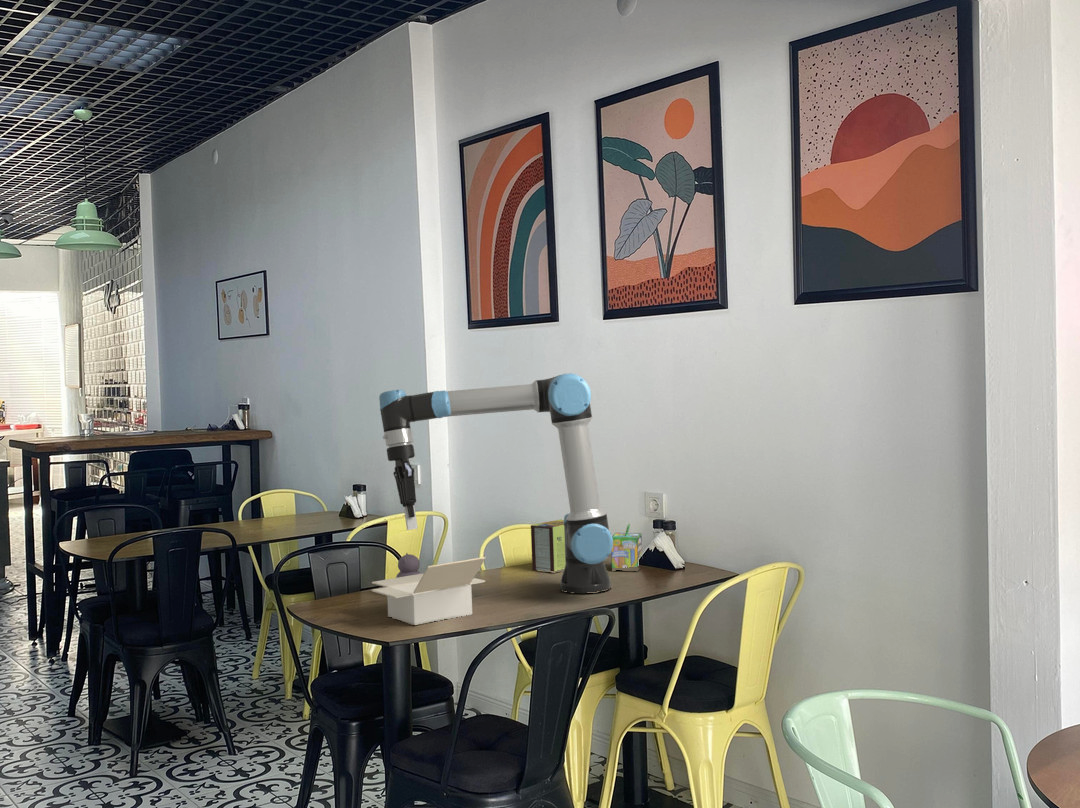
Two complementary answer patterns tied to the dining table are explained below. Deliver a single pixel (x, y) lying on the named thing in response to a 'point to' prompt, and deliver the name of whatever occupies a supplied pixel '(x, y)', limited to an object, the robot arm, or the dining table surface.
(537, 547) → the protein box
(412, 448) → the robot arm
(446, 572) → the flap
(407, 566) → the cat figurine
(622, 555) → the chalk box
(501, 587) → the dining table surface
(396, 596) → the carton
